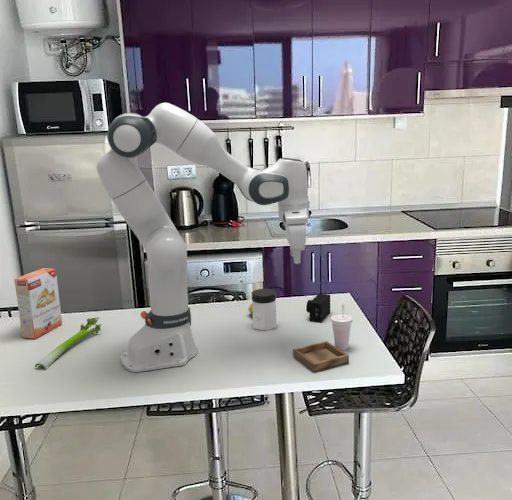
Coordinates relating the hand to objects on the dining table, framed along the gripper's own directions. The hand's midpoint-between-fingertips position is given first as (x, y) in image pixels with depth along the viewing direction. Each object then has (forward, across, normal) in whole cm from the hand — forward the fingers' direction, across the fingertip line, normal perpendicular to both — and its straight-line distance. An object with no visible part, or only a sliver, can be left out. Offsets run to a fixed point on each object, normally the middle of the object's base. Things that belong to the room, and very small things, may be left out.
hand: (295, 259), depth 159 cm
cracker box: (+26, -22, -86) cm, 92 cm away
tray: (+28, +12, +5) cm, 30 cm away
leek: (+27, -6, -71) cm, 76 cm away
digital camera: (+27, -23, +10) cm, 37 cm away
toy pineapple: (+27, -28, -11) cm, 40 cm away
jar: (+27, -17, -10) cm, 33 cm away
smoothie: (+28, +4, +13) cm, 31 cm away
